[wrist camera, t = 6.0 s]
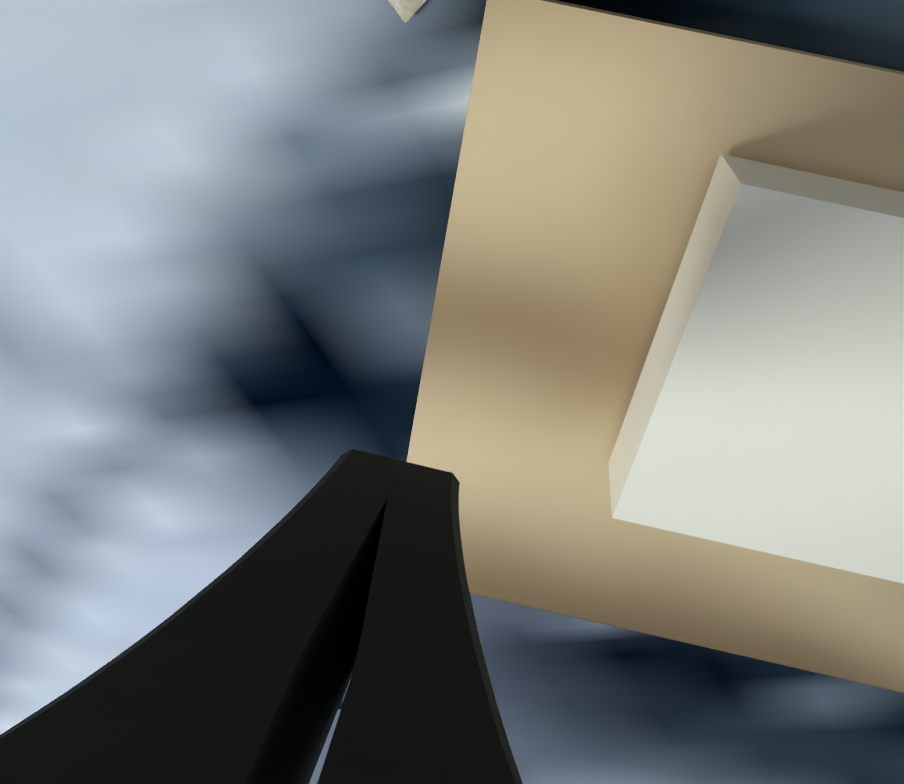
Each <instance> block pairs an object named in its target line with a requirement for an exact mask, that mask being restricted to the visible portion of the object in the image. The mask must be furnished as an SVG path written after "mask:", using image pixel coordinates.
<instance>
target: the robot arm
mask: <svg viewBox="0 0 904 784" xmlns="http://www.w3.org/2000/svg"><path fill="white" fill-rule="evenodd" d="M459 486H460V482H459V481H458V480H457V478H456V477H455V475H454V474H453V473H451V472H447V471H443V470H439V469H434V468H430V467H426V466H422V465H418V464H413V463H409V462H405V461H401V460H396V459H392V458H388V457H384V456H380V455H375V454H371V453H367V452H363V451H359V450H354V449H352V450H350V451H348V452H346V453H344V454H342V455H341V457H340V458H339V459H338V460H337V462H336V463H335V464H334V465H333V466H332V467H331V469H330V470H329V471H328V472H327V473H326V474H325V475H324V476H323V478H322V479H321V480H320V481H319V482H318V483H317V484H316V485H315V486H314V487H313V488H312V489H311V491H310V492H309V493H308V494H307V495H306V496H305V497H304V498H303V499H302V500H301V501H300V502H299V503H298V504H297V505H296V506H295V507H294V508H293V509H292V510H291V511H290V512H289V513H288V514H287V515H286V516H285V517H284V518H283V519H282V520H281V521H280V522H279V523H277V524H276V525H275V526H274V527H273V528H272V529H271V530H270V531H269V532H268V533H267V534H266V535H265V536H263V537H262V538H261V539H260V540H259V541H258V542H257V543H256V544H255V545H254V546H253V547H252V548H251V549H249V550H248V551H247V552H246V553H245V554H244V555H243V556H242V557H241V558H240V559H239V560H237V561H236V562H235V563H234V564H233V565H232V566H231V567H229V568H228V569H227V570H226V571H225V572H223V573H222V574H221V575H220V576H219V577H217V578H216V579H215V580H214V581H213V582H211V583H210V584H209V585H208V586H207V587H205V588H204V589H203V590H202V591H200V592H199V593H198V594H197V595H196V596H194V597H193V598H192V599H191V600H190V601H188V602H187V603H186V604H185V605H184V606H182V607H181V608H180V609H179V610H177V611H176V612H175V613H174V614H173V615H171V616H170V617H169V618H168V619H166V620H165V621H164V622H162V623H161V624H160V625H158V626H157V627H156V628H155V629H153V630H152V631H151V632H149V633H148V634H147V635H145V636H144V637H143V638H141V639H140V640H139V641H137V642H136V643H135V644H133V645H132V646H131V647H129V648H128V649H127V650H125V651H124V652H123V653H121V654H120V655H118V656H117V657H116V658H114V659H113V660H111V661H110V662H109V663H107V664H106V665H104V666H103V667H101V668H100V669H99V670H97V671H96V672H94V673H93V674H92V675H90V676H89V677H87V678H86V679H84V680H83V681H82V682H80V683H79V684H77V685H76V686H74V687H73V688H72V689H70V690H69V691H67V692H66V693H64V694H63V695H61V696H60V697H58V698H56V699H55V700H53V701H52V702H50V703H49V704H47V705H46V706H44V707H43V708H41V709H40V710H38V711H37V712H35V713H33V714H32V715H30V716H29V717H27V718H26V719H24V720H23V721H21V722H20V723H18V724H17V725H15V726H13V727H12V728H10V729H9V730H7V731H6V732H4V733H3V734H1V735H0V784H522V781H521V778H520V775H519V772H518V769H517V766H516V764H515V761H514V758H513V755H512V752H511V749H510V745H509V742H508V739H507V736H506V733H505V730H504V727H503V723H502V720H501V717H500V713H499V710H498V707H497V703H496V700H495V696H494V693H493V689H492V685H491V682H490V678H489V674H488V671H487V667H486V663H485V660H484V656H483V652H482V647H481V643H480V639H479V635H478V631H477V626H476V621H475V617H474V612H473V607H472V602H471V597H470V592H469V587H468V582H467V577H466V571H465V565H464V558H463V550H462V542H461V534H460V522H459ZM351 675H352V676H351ZM350 677H351V680H350ZM349 680H350V683H349ZM348 683H349V687H348V690H347V693H346V696H345V699H344V702H343V705H342V708H341V709H338V708H339V706H340V703H341V701H342V698H343V695H344V693H345V690H346V688H347V685H348Z"/></svg>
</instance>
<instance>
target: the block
mask: <svg viewBox="0 0 904 784" xmlns="http://www.w3.org/2000/svg"><path fill="white" fill-rule="evenodd" d="M608 466H609V481H610V496H611V511H612V518H614V519H619V520H623V521H628V522H632V523H637V524H641V525H646V526H650V527H654V528H659V529H663V530H668V531H672V532H677V533H681V534H685V535H690V536H694V537H699V538H703V539H708V540H712V541H717V542H721V543H725V544H730V545H734V546H739V547H743V548H748V549H752V550H757V551H761V552H765V553H770V554H774V555H779V556H783V557H788V558H792V559H796V560H801V561H805V562H810V563H814V564H819V565H823V566H828V567H832V568H836V569H841V570H845V571H850V572H854V573H859V574H863V575H867V576H872V577H876V578H881V579H885V580H890V581H894V582H899V583H903V584H904V192H900V191H895V190H891V189H886V188H881V187H876V186H872V185H867V184H862V183H857V182H853V181H848V180H843V179H838V178H833V177H829V176H824V175H819V174H814V173H810V172H805V171H800V170H795V169H791V168H786V167H781V166H776V165H772V164H767V163H762V162H757V161H753V160H748V159H743V158H738V157H734V156H729V155H724V154H720V157H719V160H718V163H717V165H716V168H715V171H714V174H713V176H712V179H711V182H710V185H709V187H708V190H707V193H706V196H705V198H704V201H703V204H702V207H701V209H700V212H699V215H698V218H697V221H696V223H695V226H694V229H693V232H692V234H691V237H690V240H689V243H688V245H687V248H686V251H685V254H684V256H683V259H682V262H681V265H680V267H679V270H678V273H677V276H676V278H675V281H674V284H673V287H672V289H671V292H670V295H669V298H668V300H667V303H666V306H665V309H664V311H663V314H662V317H661V320H660V322H659V325H658V328H657V331H656V333H655V336H654V339H653V342H652V344H651V347H650V350H649V353H648V355H647V358H646V361H645V364H644V366H643V369H642V372H641V375H640V377H639V380H638V383H637V386H636V388H635V391H634V394H633V397H632V400H631V402H630V405H629V408H628V411H627V413H626V416H625V419H624V422H623V424H622V427H621V430H620V433H619V435H618V438H617V441H616V444H615V446H614V449H613V452H612V455H611V457H610V460H609V463H608Z"/></svg>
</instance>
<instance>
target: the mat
mask: <svg viewBox="0 0 904 784" xmlns="http://www.w3.org/2000/svg"><path fill="white" fill-rule="evenodd" d="M720 154H724V155H729V156H734V157H738V158H743V159H748V160H753V161H757V162H762V163H767V164H772V165H776V166H781V167H786V168H791V169H795V170H800V171H805V172H810V173H814V174H819V175H824V176H829V177H833V178H838V179H843V180H848V181H853V182H857V183H862V184H867V185H872V186H876V187H881V188H886V189H891V190H895V191H900V192H904V72H902V71H898V70H893V69H888V68H883V67H878V66H873V65H868V64H864V63H859V62H854V61H849V60H844V59H839V58H834V57H830V56H825V55H820V54H815V53H810V52H805V51H800V50H795V49H791V48H786V47H781V46H776V45H771V44H766V43H761V42H757V41H752V40H747V39H742V38H737V37H732V36H727V35H723V34H718V33H713V32H708V31H703V30H698V29H693V28H688V27H684V26H679V25H674V24H669V23H664V22H659V21H654V20H650V19H645V18H640V17H635V16H630V15H625V14H620V13H615V12H611V11H606V10H601V9H596V8H591V7H586V6H581V5H577V4H572V3H567V2H562V1H557V0H487V2H486V8H485V13H484V19H483V25H482V31H481V36H480V42H479V48H478V54H477V59H476V65H475V71H474V77H473V82H472V88H471V94H470V100H469V105H468V111H467V117H466V123H465V128H464V134H463V140H462V146H461V151H460V157H459V163H458V169H457V174H456V180H455V186H454V192H453V197H452V203H451V209H450V215H449V221H448V226H447V232H446V238H445V244H444V249H443V255H442V261H441V267H440V272H439V278H438V284H437V290H436V295H435V301H434V307H433V313H432V318H431V324H430V330H429V336H428V341H427V347H426V353H425V359H424V364H423V370H422V376H421V382H420V387H419V393H418V399H417V405H416V410H415V416H414V422H413V428H412V433H411V439H410V445H409V451H408V456H407V462H409V463H413V464H418V465H422V466H426V467H430V468H434V469H439V470H443V471H447V472H451V473H453V474H454V475H455V477H456V478H457V480H458V481H459V482H460V486H459V522H460V534H461V542H462V550H463V558H464V565H465V571H466V577H467V582H468V587H469V592H470V593H471V594H476V595H480V596H484V597H489V598H493V599H498V600H502V601H506V602H511V603H515V604H519V605H524V606H528V607H532V608H537V609H541V610H545V611H550V612H554V613H559V614H563V615H567V616H572V617H576V618H580V619H585V620H589V621H593V622H598V623H602V624H606V625H611V626H615V627H620V628H624V629H628V630H633V631H637V632H641V633H646V634H650V635H654V636H659V637H663V638H667V639H672V640H676V641H680V642H685V643H689V644H694V645H698V646H702V647H707V648H711V649H715V650H720V651H724V652H728V653H733V654H737V655H741V656H746V657H750V658H755V659H759V660H763V661H768V662H772V663H776V664H781V665H785V666H789V667H794V668H798V669H802V670H807V671H811V672H816V673H820V674H824V675H829V676H833V677H837V678H842V679H846V680H850V681H855V682H859V683H863V684H868V685H872V686H877V687H881V688H885V689H890V690H894V691H898V692H903V693H904V584H903V583H899V582H894V581H890V580H885V579H881V578H876V577H872V576H867V575H863V574H859V573H854V572H850V571H845V570H841V569H836V568H832V567H828V566H823V565H819V564H814V563H810V562H805V561H801V560H796V559H792V558H788V557H783V556H779V555H774V554H770V553H765V552H761V551H757V550H752V549H748V548H743V547H739V546H734V545H730V544H725V543H721V542H717V541H712V540H708V539H703V538H699V537H694V536H690V535H685V534H681V533H677V532H672V531H668V530H663V529H659V528H654V527H650V526H646V525H641V524H637V523H632V522H628V521H623V520H619V519H614V518H612V511H611V496H610V481H609V466H608V463H609V460H610V457H611V455H612V452H613V449H614V446H615V444H616V441H617V438H618V435H619V433H620V430H621V427H622V424H623V422H624V419H625V416H626V413H627V411H628V408H629V405H630V402H631V400H632V397H633V394H634V391H635V388H636V386H637V383H638V380H639V377H640V375H641V372H642V369H643V366H644V364H645V361H646V358H647V355H648V353H649V350H650V347H651V344H652V342H653V339H654V336H655V333H656V331H657V328H658V325H659V322H660V320H661V317H662V314H663V311H664V309H665V306H666V303H667V300H668V298H669V295H670V292H671V289H672V287H673V284H674V281H675V278H676V276H677V273H678V270H679V267H680V265H681V262H682V259H683V256H684V254H685V251H686V248H687V245H688V243H689V240H690V237H691V234H692V232H693V229H694V226H695V223H696V221H697V218H698V215H699V212H700V209H701V207H702V204H703V201H704V198H705V196H706V193H707V190H708V187H709V185H710V182H711V179H712V176H713V174H714V171H715V168H716V165H717V163H718V160H719V157H720Z"/></svg>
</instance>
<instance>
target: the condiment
mask: <svg viewBox="0 0 904 784" xmlns="http://www.w3.org/2000/svg"><path fill="white" fill-rule="evenodd" d="M388 1H389V2H390V4H391V5H392V6H393V7H394V9H395V10H396V11H397V13H398V14H399V16H400V17H401V18H402V19H403V21H404V22H405V23H406V22H407V21H408V20H409V19H410V18H411V17H412V16H413V14H414V13H415V12H416V11H417V10H418V9H419V8H420V7H421V6H422V5H423V4H424V3H425V1H426V0H388Z"/></svg>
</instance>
